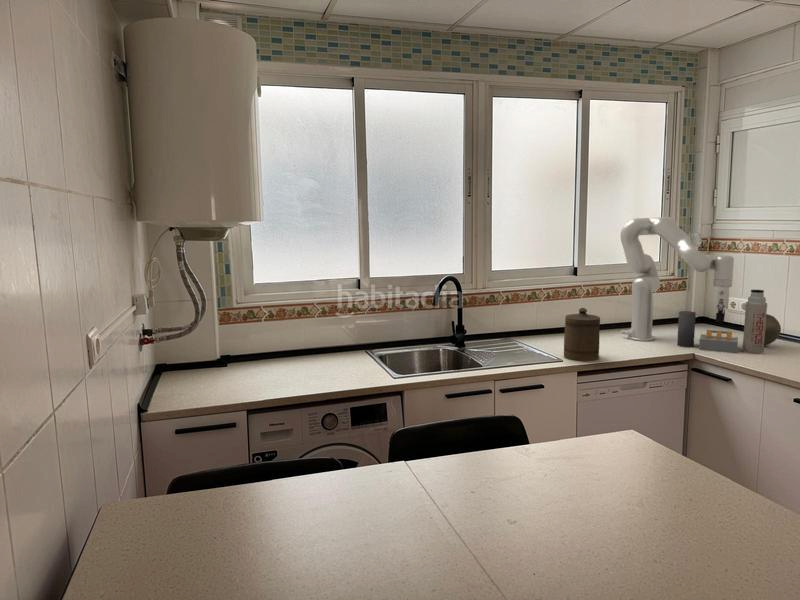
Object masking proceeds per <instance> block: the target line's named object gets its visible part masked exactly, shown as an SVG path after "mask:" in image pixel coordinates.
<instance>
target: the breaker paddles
mask: <svg viewBox="0 0 800 600" xmlns="http://www.w3.org/2000/svg"><path fill="white" fill-rule="evenodd" d="M706 334H707V337H712V334H716V335H717V336H716V338H721V337H722V335H727V338H726V339H732V336H733V331H729V330H728V331H727V330H714V329H707V330H706Z"/></svg>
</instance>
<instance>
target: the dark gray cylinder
mask: <svg viewBox="0 0 800 600" xmlns="http://www.w3.org/2000/svg"><path fill="white" fill-rule="evenodd" d="M696 316H697V315H696V312H695V311H692V310H691V311H689V310H680V311H678V324H677V338H676V339H677V340H676V341H677V342H676V346H678V347H680V348H681V347H682V348H694V347H695V346H694V345H695V331H696V330H695V329H696Z"/></svg>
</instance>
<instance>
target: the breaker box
mask: <svg viewBox="0 0 800 600" xmlns="http://www.w3.org/2000/svg"><path fill="white" fill-rule="evenodd" d="M716 336H717V334H716V333H712V337H707V333H701V334H700V337H699V344H698V345H699V346H698V350H699V351H710V352H718V353H719V352H721V353H732V354H738V348H739V347H738V345H739V344H738V343H739V337H738V336H736V335H732V339H726V338H727V334H722V337H721V338H716Z"/></svg>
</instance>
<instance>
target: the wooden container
mask: <svg viewBox="0 0 800 600" xmlns="http://www.w3.org/2000/svg"><path fill="white" fill-rule="evenodd" d="M578 312H579V313H571V314H567V315H565V319H564V322H565V323H564V337H563V339H564V341H563V357H564V358H565V359H568V360H572V361H577V362H592V361H597V360H598V359H600V325H601V316H598V315H594V314H588V313H587V312H588V309H587V308H585V307H581V308H579V309H578Z"/></svg>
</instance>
